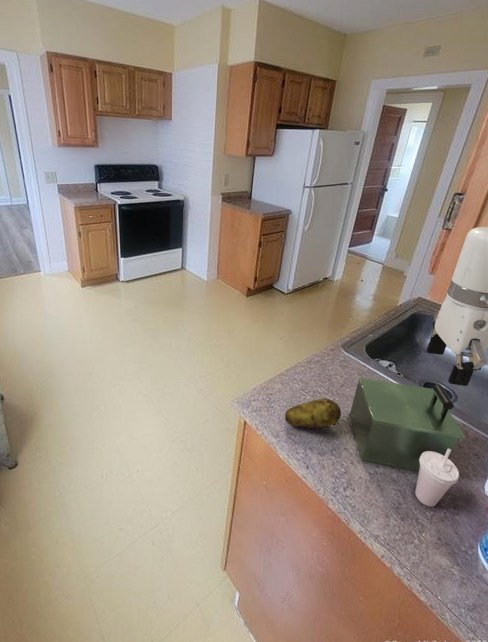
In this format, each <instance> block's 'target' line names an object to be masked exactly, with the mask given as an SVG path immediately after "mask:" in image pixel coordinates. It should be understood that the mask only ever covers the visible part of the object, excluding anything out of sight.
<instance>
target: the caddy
mask: <svg viewBox="0 0 488 642" xmlns="http://www.w3.org/2000/svg"><path fill="white" fill-rule="evenodd" d="M356 385H357V386H356V389H355V393H354V395H353V396H354V397H353V401H352V405H351V409H350V412H349V417H350V421H351V425H352V429H353V433H354V436H355V441H356V445H357V449H358V452H359V457H360V461H362V462H367V463H372V464H377V465H382V466H387V467H391V468H396V469H397V468H398V469H402V470H406V471H412V472H417V473H419V469H420V462H419V459H420V457H421V455H422V453H423V452H426V451H433V452H437V453H439V454H441V455H443V456H445V454H446V452H447V449H451V452H450V454H449V457H448V459H449V460H450V458H451V456H452V454H453V451H454V449H455V447H456V445H457V443H458V441H459V438H456V437H450V436H444V435H439V434H433V433H428V432H422V431H417V430H411V429H405V428H400V427H394V426H389V425H383V424H377V423H373V421H372V418H371V415H370V412H369V409H368V406H367V403H366V400H365V397H364V394H363V391H362V388H361V385H360V382H359V380H358V382H357V384H356Z"/></svg>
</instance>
